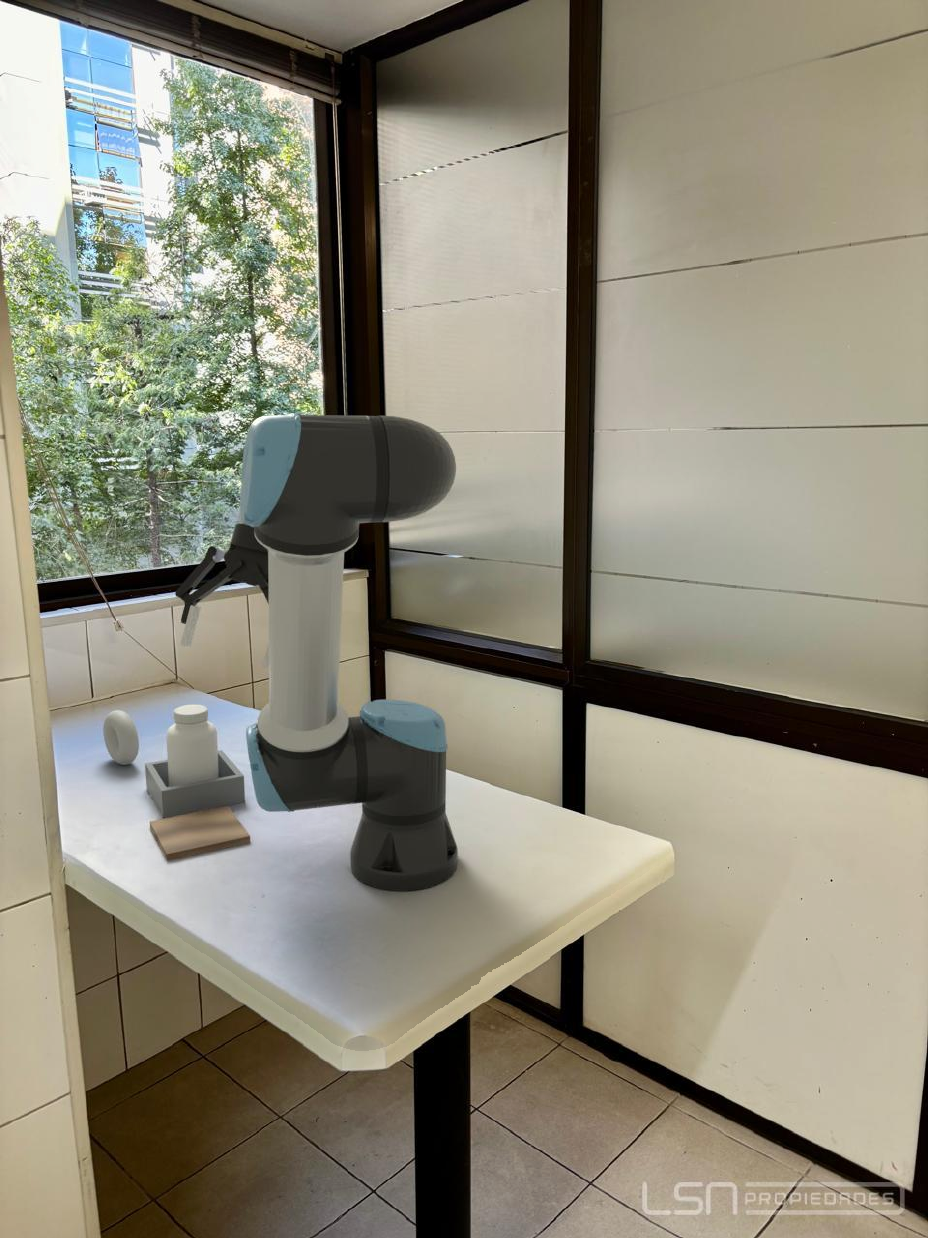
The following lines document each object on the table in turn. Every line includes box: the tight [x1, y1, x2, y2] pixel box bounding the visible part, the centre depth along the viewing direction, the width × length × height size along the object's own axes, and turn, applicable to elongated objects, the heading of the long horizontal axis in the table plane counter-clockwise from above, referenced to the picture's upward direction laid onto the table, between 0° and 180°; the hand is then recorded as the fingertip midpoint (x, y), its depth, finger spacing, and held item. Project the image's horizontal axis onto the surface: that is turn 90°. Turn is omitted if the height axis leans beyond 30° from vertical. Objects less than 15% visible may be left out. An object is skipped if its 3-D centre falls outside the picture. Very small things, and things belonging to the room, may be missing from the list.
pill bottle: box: [166, 704, 219, 787], centre depth 149 cm, size 8×8×15 cm
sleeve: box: [144, 750, 246, 819], centre depth 150 cm, size 13×13×4 cm
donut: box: [102, 709, 140, 766], centre depth 163 cm, size 10×4×10 cm, turn 43°
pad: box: [149, 805, 251, 862], centre depth 136 cm, size 12×12×1 cm
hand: (226, 656), depth 144 cm, fingers open, 13 cm apart
